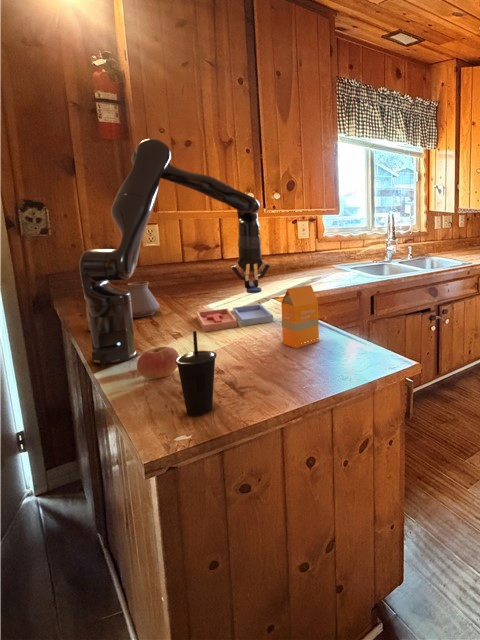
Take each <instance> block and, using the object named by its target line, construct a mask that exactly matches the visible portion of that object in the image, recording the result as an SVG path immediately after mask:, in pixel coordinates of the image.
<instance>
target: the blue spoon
mask: <svg viewBox="0 0 480 640" xmlns="http://www.w3.org/2000/svg"><path fill="white" fill-rule="evenodd" d="M249 284H250V286H249V288H248V289H247V288H246V293H247V294H258V293H261V292H263V291H262V287H259V286H258V287H255V285H253V282H251V281H249Z"/></svg>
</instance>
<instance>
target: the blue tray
mask: <svg viewBox="0 0 480 640" xmlns="http://www.w3.org/2000/svg"><path fill="white" fill-rule="evenodd" d="M232 315H233V316H234V317H235V319H236V320H237V321H238V322H239V323H240V324H241V326H243V327H246V326H251V325H256V324H258V325H259V324H263V323H271V322H273V321H274V318H273V314H272V313H271V312H270V311H269V310H268V309H266V307H265V306H264V305H263V304H261V303H260V304H259V303H258V304H251V305H245V306H243V305H242V306H236V307H232Z"/></svg>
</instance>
